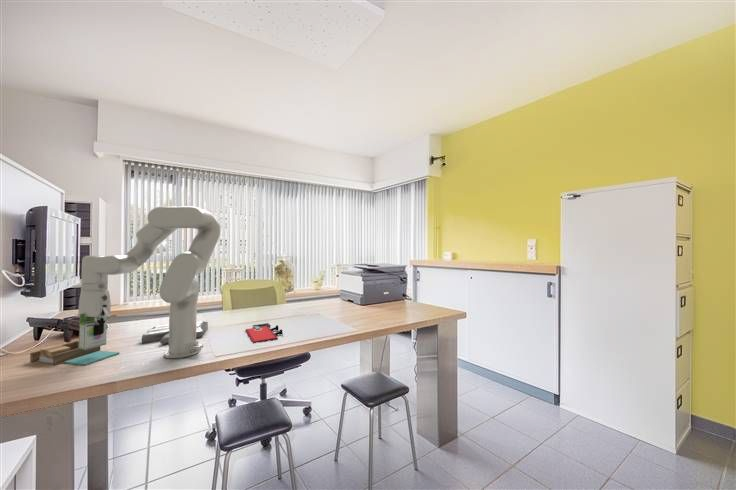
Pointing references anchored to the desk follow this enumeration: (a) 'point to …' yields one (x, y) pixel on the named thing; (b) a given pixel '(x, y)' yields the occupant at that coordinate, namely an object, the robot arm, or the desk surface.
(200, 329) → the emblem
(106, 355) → the teal mat
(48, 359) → the grey offcut
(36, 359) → the tray
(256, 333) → the red board with handle
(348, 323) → the desk surface
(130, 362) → the desk surface
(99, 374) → the desk surface
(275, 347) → the desk surface
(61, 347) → the oak offcut
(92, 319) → the ink box
